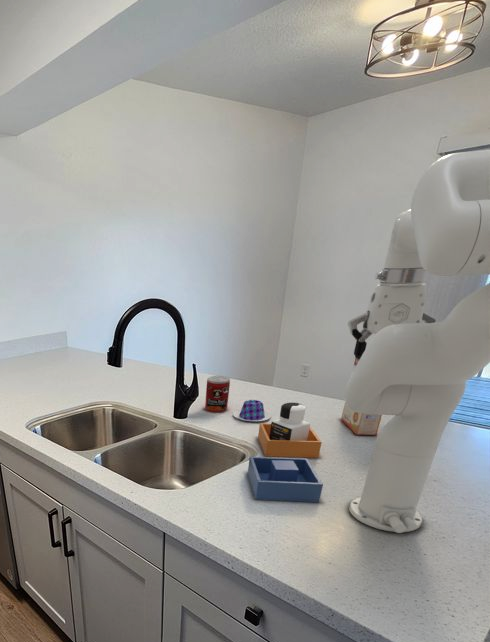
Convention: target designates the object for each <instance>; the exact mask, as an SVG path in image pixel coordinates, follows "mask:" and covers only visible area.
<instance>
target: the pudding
mask: <svg viewBox="0 0 490 642" xmlns="http://www.w3.org/2000/svg"><path fill="white" fill-rule="evenodd" d="M242 404H243V405H242V407H241V409H238V410H236V411H234V412H233V413H232V416H233V417H235V418H236V419H239V420H242V421H247V422H263V421H267V420H270V419H271V417H272V415H271V413H269V412H267V411H265V407H264V403H263V401H261V400H257V399H248V400H245V401H243V403H242Z"/></svg>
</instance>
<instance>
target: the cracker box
mask: <svg viewBox="0 0 490 642" xmlns="http://www.w3.org/2000/svg"><path fill="white" fill-rule="evenodd" d="M358 361H359V359H357V358H355V357H354V363H353V366H352V372H353V370H354V368H355V367H356V365H357V363H358ZM352 372H351V373H352ZM341 413H342V414H341V418H340V420H341V421H342V422H343V423H344V424H345V425H346V426H348V428H349V429H350V430H351V431H352V432H353V433H354V434H355V435H357V436H358V435H360V436H377V434H378V432H379V427H380V423H381V420H382V417H383V415H378V414H363V413H357V412H355V411H353V410H351V409H350V408H349V407H348V405H347V403H346V399H345V401H344V405H343V409H342V412H341Z"/></svg>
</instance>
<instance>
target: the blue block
mask: <svg viewBox="0 0 490 642" xmlns="http://www.w3.org/2000/svg"><path fill="white" fill-rule="evenodd" d="M298 472H299V469H298V468H297V466H296V464H295V463H294V461H285V460H271V465H270V472H269V481H284V482H297V477H298Z"/></svg>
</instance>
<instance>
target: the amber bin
mask: <svg viewBox="0 0 490 642" xmlns="http://www.w3.org/2000/svg"><path fill="white" fill-rule="evenodd" d="M270 429H271V423H266V422H265V423H263V422H261V423H259V428H258V433H257V434H258V435H257V439H258V442H259V444H260V446H261V449H262V451H263V454H264V457H275V458H307V459H309V458H311V459H318V458H320V452H321V447H322V441H321V439H320V438H319V436H318V435H317V433H316V432H315V431H314V429H313V428H312V427H311V426H310V428H309V433H308V438H307V441H291V440H270V439H269V436H270Z"/></svg>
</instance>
